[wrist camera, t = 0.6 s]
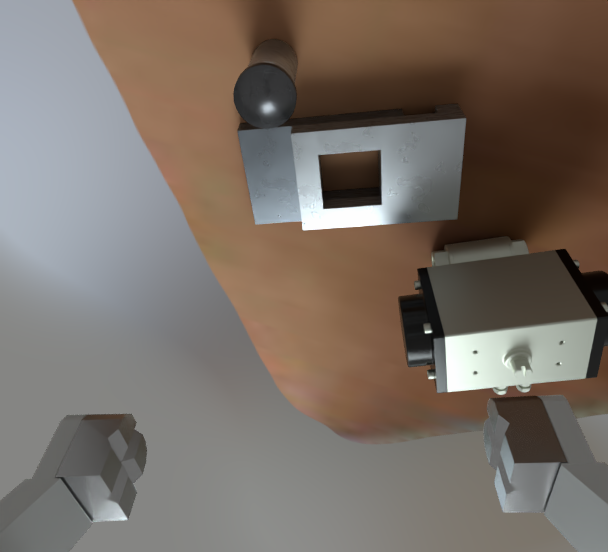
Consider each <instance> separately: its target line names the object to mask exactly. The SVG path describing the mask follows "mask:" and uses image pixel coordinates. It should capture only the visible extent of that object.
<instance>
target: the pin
mask: <svg viewBox="0 0 608 552" xmlns="http://www.w3.org/2000/svg"><path fill="white" fill-rule="evenodd" d="M297 66H298V62H297V57H296V54H295V52H294V50H293V49H292V48H291V47H290V46H289V45H288V44H287V43H285V42H284V41H281V40H278V39H270V40H266V41H264V42H262V43H261V44H260V45H259V46H258V47H257V48H256V49H255V51H254V53H253V56H252V58H251V60H250V63H249V65H248V67H247V68H246V69H245V70H244V71H243V72H242V73H241V74H240V76H239V78H238V80H237V82H236V85H235V88H234V103H235V106H236V109H237V111H238V113H239V114H240V115H241V117H242V118H243V119H244V120H245V121H247V122H248V123H249V124H251V125H253V126H255V127H258V128H264V129H270V128H275V127H278V126H280V125H282V124H283V123H285V122H286V121H287V120H288V119H289V118H290V117H291V115H292V113H293V112H294V109H295V105H296V98H297V92H296V87H295V80H296V73H297Z"/></svg>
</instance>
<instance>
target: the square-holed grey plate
mask: <svg viewBox="0 0 608 552" xmlns="http://www.w3.org/2000/svg"><path fill="white" fill-rule="evenodd" d="M465 127H466V117H465V115H464V113H463V112H462V110H461V108H460V107H459V105H458V104H447V105H436V106H435V113H430V114H419V115H408V116H404V114H403V111H402V109H393V110H382V111H371V112H360V113H350V114H339V115H328V116H317V117H306V118H295V119H288V120H287V121H286V122H285V123H283V124H282V125H280V126H278V127H275V128H270V129H264V128H258V127H255V126H253V125H251V124H249V123H241V124H240V125H239V128H238V136H239V142H240V147H241V152H242V157H243V162H244V168H245V173H246V178H247V183H248V188H249V194H250V199H251V204H252V209H253V214H254V219H255V224H267V223H280V222H294V221H302V226H303V230H314V229H328V228H342V227H356V226H370V225H384V224H398V223H412V222H426V221H440V220H454V219H457V217H458V206H459V195H460V183H461V172H462V161H463V149H464V138H465ZM373 150H378V171H379V187H374V188H361V189H349V190H336V191H323V181H322V171H321V160H320V155H326V154H337V153H349V152H361V151H373Z"/></svg>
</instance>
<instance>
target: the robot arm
mask: <svg viewBox="0 0 608 552" xmlns="http://www.w3.org/2000/svg"><path fill="white" fill-rule="evenodd" d="M487 411H488V414H489V417H490V418H489V419H487V420H486V421H485V424H484V445H485V450H486V455H487V459H488V462H489V464H490V465H491V466H492V467H493V468H494V469H495V470H496V476H495V482H494V484H495V487H496V490H497V494H498V498H499V501H500V504H501V508H502V511H503V512H545V513H544V515H545V516H546V517H547V518H548V519H549V521H550V522H551V523H552V524H553V525H554V526H555V527H556V528H557V529H558V530H559V532H560V533H561V534H562V535H563V536H564V537H565V538H566V539H567V540H568V541H569V542H570V544H571V545H572V546H573V547H574V548H575V549H576V550H577V551H578V552H608V465H607V464H606V463H604V462H602V463H601V462H596V460H595V457H594V455H593V453H592V451H591V449H590V447H589V445H588V443H587V441H586V439H585V436H584V435H583V433H582V430H581V428H580V426H579V424H578V422H577V420H576V418H575V416H574V413H573V411H572V409H571V407H570V405H569V403H568V401H567V399H566V398H565V397H564V396H563V395H551V396H520V397H502V398H490V400H489V401H488V406H487ZM135 426H136V421H135V419H134V417H133V415H132V414H93V415H67V416H66V417H65V418H64V419H63V420H62V421H61V422H60V424H59V426H58V428H57V430H56V431H55V434H54V436H53V437H52V440H51V441H50V444H49V445H48V447H47V449H46V452H45V453H44V455H43V457H42V459H41V461H40V463H39V466H38V467H37V470H36V471H35V473H34V475H33V477H32V479H25V480H24V481H23V482H22V483H21V484H19V485H18V486H17V487H16V488H15V489H13V490H12V491H11V492H10V493H9V494H7V495H6V496H5V497H4V498H3V499H2V500H0V552H69V551H70V550H71V549H72V548H73V547H74V545H75V544H76V543H77V542H78V541H79V540H80V538H81V537H82V536H83V535H84V534H85V533H86V531H87V530H88V529H89V528H90V527H91V525H92V524H93V523H92V522H96V521H116V520H128V519H129V515H130V512H131V509H132V506H133V503H134V500H135V497H136V494H137V492H136V489H135V486H134V484H133V483H134V482H135V481H136V480H137V479H138V478H139V477H140V476H141V475H142V474H143V471H144V468H145V464H146V456H147V447H146V442H145V439H144V437H143V435H142V434H141V433H139V432H138V431H136V430H135V429H134V428H135Z"/></svg>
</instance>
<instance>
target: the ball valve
mask: <svg viewBox="0 0 608 552" xmlns="http://www.w3.org/2000/svg"><path fill="white" fill-rule="evenodd" d="M431 259H432V267H427V268H420V269H417V271H418V281H414V286H415V290H419V294H414V295H406V296H399V297H398V304H399V313H400V321H401V328H402V335H403V342H404V348H405V355H406V360H407V365H408V367H417V366H426V365H430V367H431V370H427V374H428V379H434V381H435V386H436V390H437V393H443V392H453V391H463V390H473V389H483V388H493V390H494V392H495V393H497V394H500V395H502V394H505V393H506V392H507V388H508V386H513V385H516V387H517V389H518V390H519V391H521V392H528V391H530V388H531V384H533V383H544V382H554V381H564V380H574V379H584V378H594V377H597V374H598V370H599V365H600V360H601V356H602V351H603V347H604V346H608V274H607V273H605V272H603V271H593V272H585V273H581V272H580V271H579V269H578V268H579V262H578V260H572V258H571V257H570V255H569V254H568V252H567V251H566V249H560V250H552V251H545V252H538V253H530V254H529V252H528V248H527V245H526V243H525V241H524V240H520V239H518V240H511V239H510V238H509V237H508V236H504V237H497V238H490V239H483V240H476V241H469V242H462V243H455V244H448V245H445V246H444V250H439V251H432V254H431Z"/></svg>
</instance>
